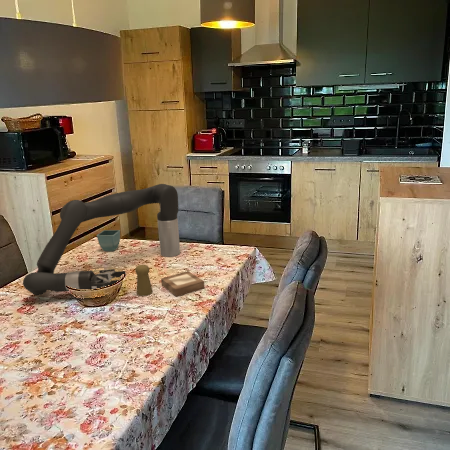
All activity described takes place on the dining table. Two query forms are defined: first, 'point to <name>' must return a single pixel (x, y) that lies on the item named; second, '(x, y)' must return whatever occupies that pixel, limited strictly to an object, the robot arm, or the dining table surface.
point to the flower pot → (109, 239)
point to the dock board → (182, 283)
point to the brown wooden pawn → (143, 280)
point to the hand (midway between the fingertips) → (123, 278)
